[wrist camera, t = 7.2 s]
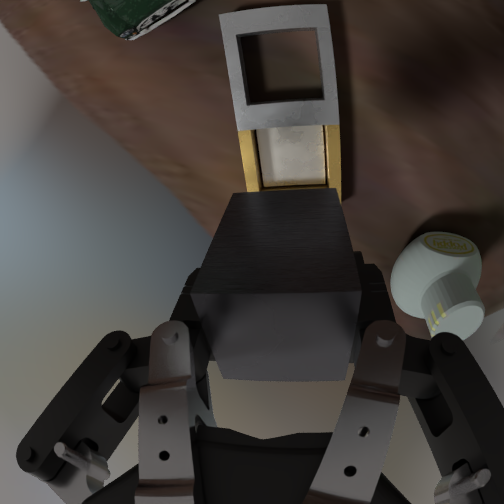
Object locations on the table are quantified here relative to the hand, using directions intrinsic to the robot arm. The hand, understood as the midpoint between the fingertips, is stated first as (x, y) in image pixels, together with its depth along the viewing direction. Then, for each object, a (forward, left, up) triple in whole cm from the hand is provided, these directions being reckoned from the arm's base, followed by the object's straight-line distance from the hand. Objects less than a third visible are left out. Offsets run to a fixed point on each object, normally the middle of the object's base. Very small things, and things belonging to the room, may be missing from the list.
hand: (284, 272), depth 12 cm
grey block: (0, 0, -3) cm, 3 cm away
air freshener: (-15, +12, -16) cm, 25 cm away
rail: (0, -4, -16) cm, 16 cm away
